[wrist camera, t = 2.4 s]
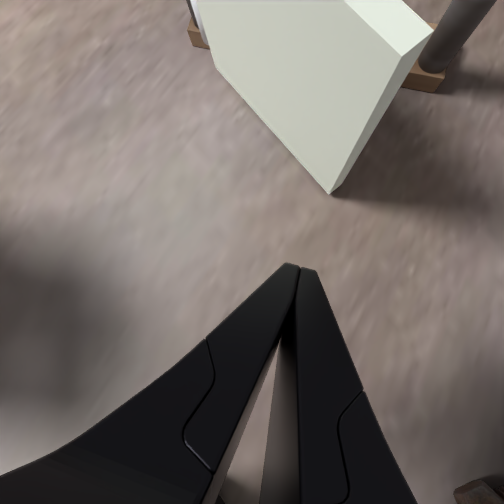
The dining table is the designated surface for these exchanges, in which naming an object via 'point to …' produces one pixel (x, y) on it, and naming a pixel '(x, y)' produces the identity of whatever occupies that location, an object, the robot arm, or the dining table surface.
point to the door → (315, 69)
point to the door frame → (434, 52)
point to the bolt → (478, 494)
